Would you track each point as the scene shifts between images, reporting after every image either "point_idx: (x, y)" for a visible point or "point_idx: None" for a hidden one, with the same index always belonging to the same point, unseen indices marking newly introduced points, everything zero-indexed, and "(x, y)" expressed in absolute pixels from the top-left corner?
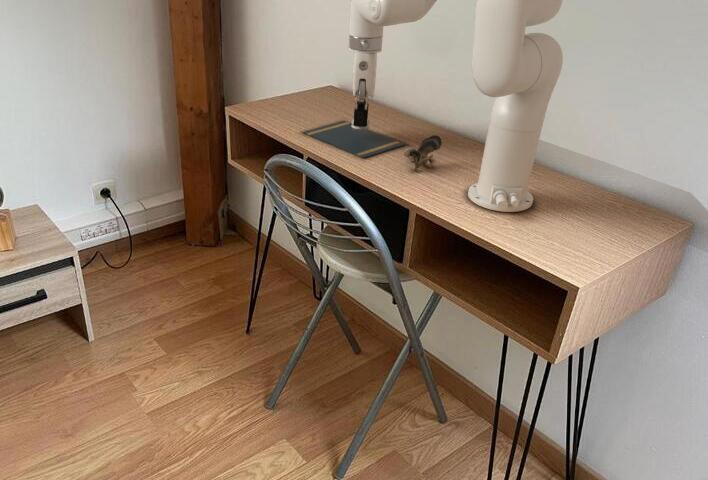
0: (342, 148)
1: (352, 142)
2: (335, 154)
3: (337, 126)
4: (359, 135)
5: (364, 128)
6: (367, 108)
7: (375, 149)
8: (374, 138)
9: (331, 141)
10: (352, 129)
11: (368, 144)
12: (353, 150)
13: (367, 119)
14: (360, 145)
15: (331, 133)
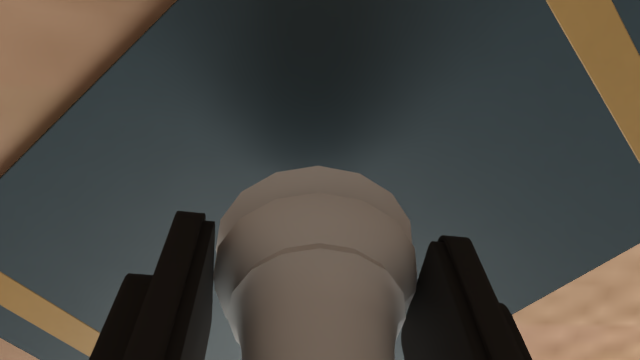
0: (538, 298)
1: (428, 238)
2: (609, 327)
3: (71, 322)
4: (257, 181)
5: (402, 222)
6: (189, 333)
7: (625, 73)
8: (331, 54)
9: (401, 353)
10: (111, 227)
11: (488, 123)
12: (600, 239)
13: (355, 252)
14: (503, 187)
15: (240, 353)
